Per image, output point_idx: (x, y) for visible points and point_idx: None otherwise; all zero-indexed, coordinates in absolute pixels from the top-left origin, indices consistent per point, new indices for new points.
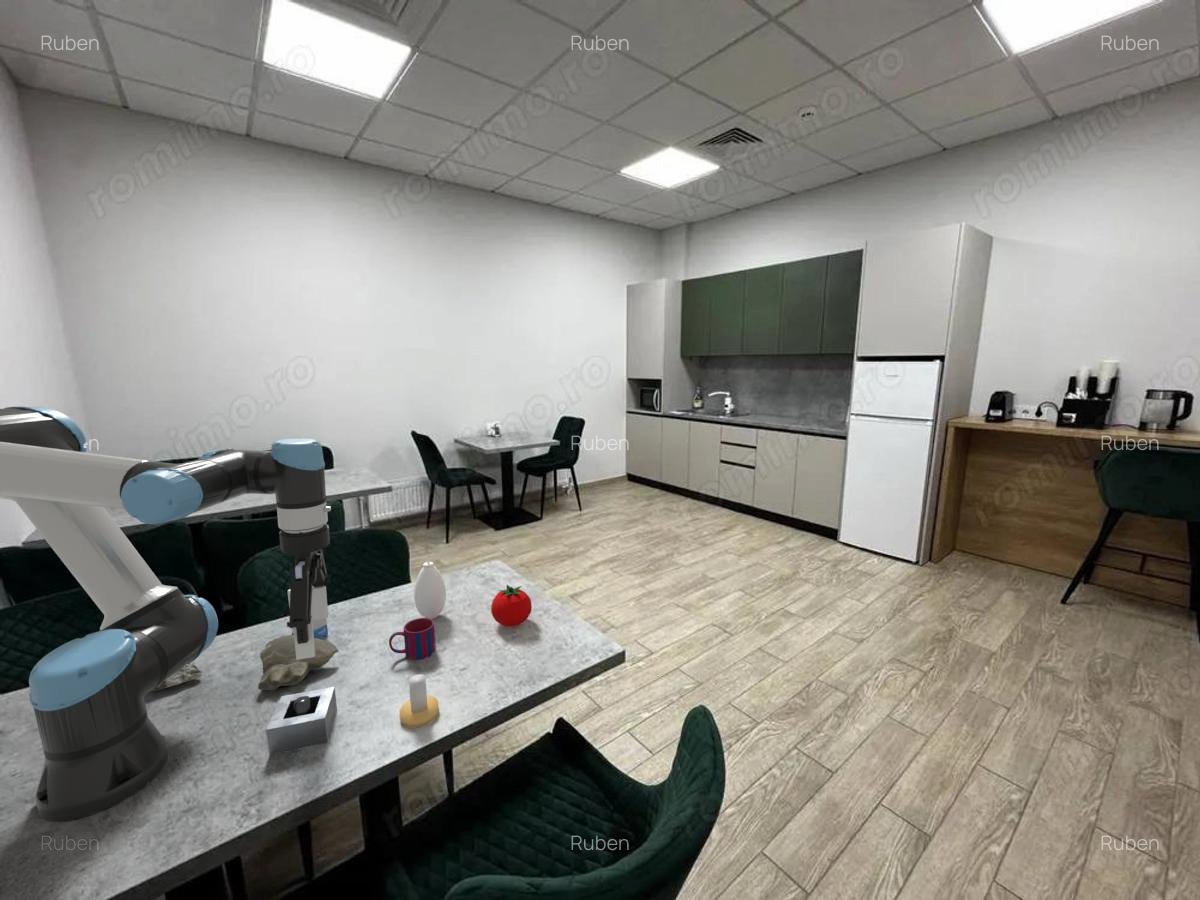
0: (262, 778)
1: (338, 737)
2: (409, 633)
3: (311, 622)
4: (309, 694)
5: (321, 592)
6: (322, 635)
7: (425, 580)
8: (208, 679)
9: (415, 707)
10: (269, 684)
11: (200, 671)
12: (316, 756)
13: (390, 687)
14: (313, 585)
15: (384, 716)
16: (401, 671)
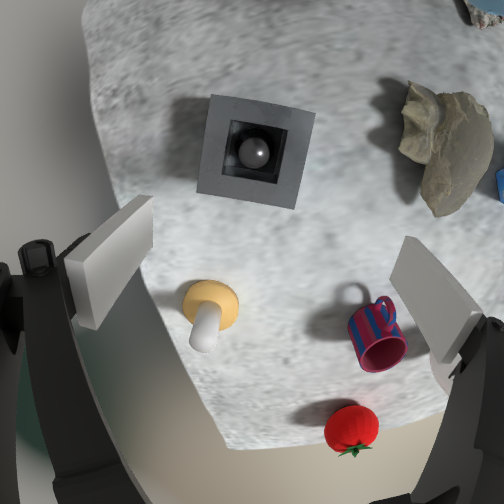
0: (169, 97)
1: (211, 196)
2: (372, 341)
3: (79, 324)
4: (292, 163)
5: (437, 336)
6: (500, 194)
7: None
8: (470, 34)
9: (197, 310)
10: (410, 98)
11: (481, 26)
12: (181, 166)
13: (302, 276)
14: (481, 329)
15: (230, 261)
16: (336, 294)
